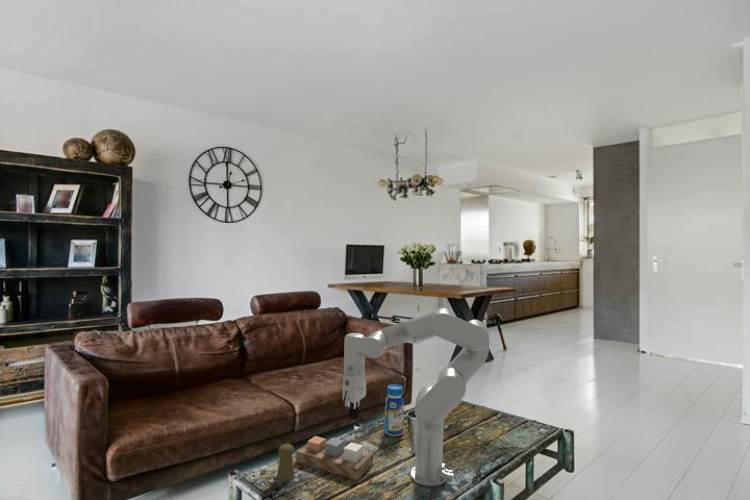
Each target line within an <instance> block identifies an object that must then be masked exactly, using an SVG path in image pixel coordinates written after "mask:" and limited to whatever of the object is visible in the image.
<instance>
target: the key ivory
mask: <svg viewBox="0 0 750 500" xmlns="http://www.w3.org/2000/svg"><path fill="white" fill-rule="evenodd" d="M363 451H364V445H362V444H358V443H355V442H350V443H349V444H347V445H346V447H345V448H344V460H346V461H349V462H353V463H356V464H357V463H358V462H359V461H360V460H361V459H362V458H363Z"/></svg>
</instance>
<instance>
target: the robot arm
mask: <svg viewBox="0 0 750 500" xmlns="http://www.w3.org/2000/svg"><path fill="white" fill-rule="evenodd" d="M435 337H438V338H440V339H442V340H445V341H447V342H449V343H451V344H454V345H456V346H459V347H461V348H462V349H461V350H460V352H459V353H458V354H456V356H455V357H453V359H452V360H451V361H450V362H449V363H448V364H447V365H446V366H445V367H444V368H442V370H440V372H439V374H438V376H437V382H436V383H434V385H427V386H424V387H422V388H421V389H420V390H419V391H418V392H417V395H416V399H415V404H414V414H415V415H414V416H415V419H416V420H415V456H414V457H415V463H414V465H415V466H414V467H413V468H411V470H410V478H411V479H412V481H414V482H415V483H417V484H419V485H422V486H426V487H436V486H441V485H443V484H444V483H445V482H446V481H447V480H451V481H454V479H455V478H454V477H455V473H453V470H451V469H447V468H446V463H443V456H444V455H443V453H444V452H443V451H444V449H443V447H444V419H445V418H446V417H447V416H448V415H449V414H450V413H451V412H452V411H453V410H454V409H455V408H456V407H457V406H458V405H459V404H460V403H461V401H462V400H463V399H464V398H465V395H466V392H467V384H468V382H469V381H470V380H471V379H472V378H473V377H474V376H475V375H476V373H477V372H478V371H479V370H480V369H481V368H482V367H483V365H484V364H485V362H486V360H487V358H488V356H489V352H490V346H491V345H490V344H491V343H490V334H489V332H488V328H487V327H486V325H485V323H483V322H482V321H480V320H479V319H471V320H469V321H467V320H464V319H462V318H460V317H457V316H455V314H454V313H453V311H452V310H450V309H448V308H445V307H443V308H442V307H441V308H438V309H435V310H431V311H429V312H427V313H424V314H421V315H419V316H416V317H413V318H411V319H408V320H403V321H402V322H398V323H396V324H392V325H389V326H386V327H383V328H380V329H377V330H375V331H374V332H372V333H371V334H370V335H369V336H365V335H364V334H362V333H358V332H357V333H356V332H351V333H347V334H346V335H345V336H344V341H343V342H344V348H343V350H344V351H343V352H344V353H343V354H344V355H343V356H344V357H343V373H344V374H343V375H344V376H343V379H342V381H343V383H342V401H343V402H344V407H347V408H348V415H347V416H348V419H350V420H354V421H355V420H358V419H359V407H360V403H361V402H360V401H361V400H362V399H364V398H365V397H366V395H367V378H366V371H365V370H366V369H365V368H366V367H365V366H366V357H367V358H370V359H371V358H372V359H377V358H380V357H381V356H383V355H384V353H385V351H386V349H388V348H392V347H394V346H397V345H398V346H399V345H401V344H404V343H405V344H407V343H408V344H413V345H415V344H418V343H422V342H424V341H426V340H429V339H433V338H435Z"/></svg>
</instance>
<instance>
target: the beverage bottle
mask: <svg viewBox="0 0 750 500" xmlns="http://www.w3.org/2000/svg"><path fill="white" fill-rule="evenodd" d="M403 392H404V390H403V385H401V384H396V383H395V384H394V383H393V384H389V385H387V387H386V394H387V396H386V398H385V401H384V403H385V406H384V433H385V434H386V435H388V436H389V437H390V436H391V437H399V436H401V435H403V434H404V429H405V428H404V421H405V420H404V418H405V417H404V416H405V406H404V405H405V400H404V398H403V396H402V395H403V394H404V393H403Z"/></svg>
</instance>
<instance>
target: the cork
mask: <svg viewBox="0 0 750 500" xmlns="http://www.w3.org/2000/svg"><path fill="white" fill-rule="evenodd" d="M277 452H278V456H279V460H278V469H277V475H276V479H277V480H278V481H279V482H281V483H282V482H283V483H287V482H291V481H292V480H294V479H295V471H294V470H295V469H294V461H293V454H294V446H293V445H292V444H289V443H284V444H281V445H280V446H279V448H278V451H277Z"/></svg>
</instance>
